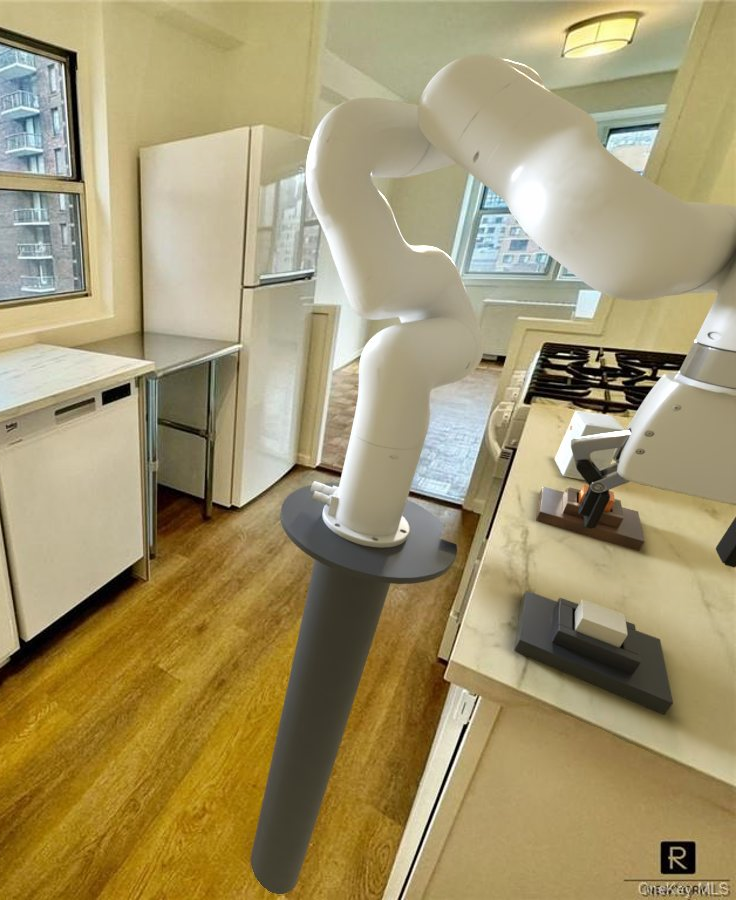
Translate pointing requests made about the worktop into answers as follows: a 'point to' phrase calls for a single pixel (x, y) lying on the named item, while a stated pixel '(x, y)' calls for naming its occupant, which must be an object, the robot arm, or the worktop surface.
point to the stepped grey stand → (593, 652)
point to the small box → (583, 427)
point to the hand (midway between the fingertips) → (652, 539)
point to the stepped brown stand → (565, 514)
